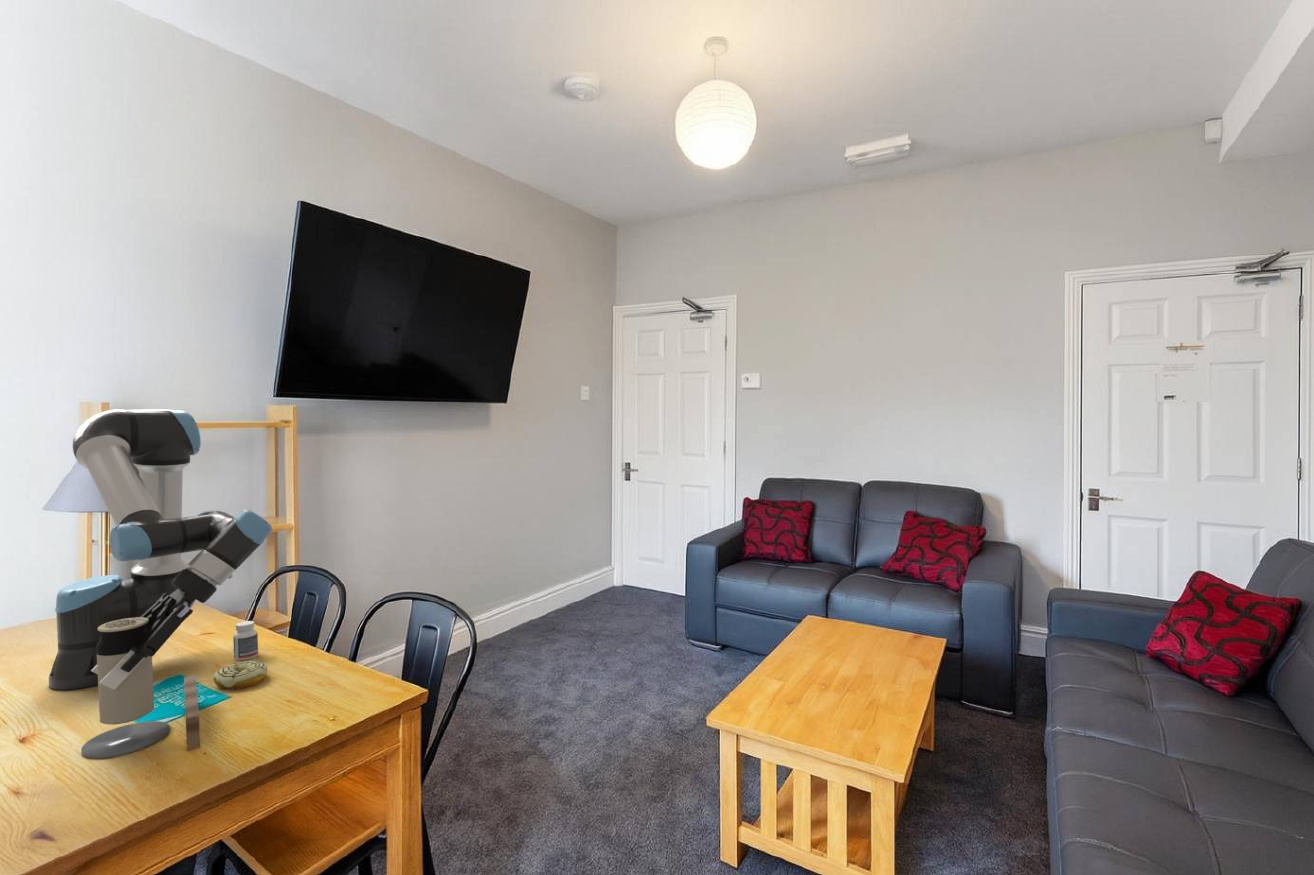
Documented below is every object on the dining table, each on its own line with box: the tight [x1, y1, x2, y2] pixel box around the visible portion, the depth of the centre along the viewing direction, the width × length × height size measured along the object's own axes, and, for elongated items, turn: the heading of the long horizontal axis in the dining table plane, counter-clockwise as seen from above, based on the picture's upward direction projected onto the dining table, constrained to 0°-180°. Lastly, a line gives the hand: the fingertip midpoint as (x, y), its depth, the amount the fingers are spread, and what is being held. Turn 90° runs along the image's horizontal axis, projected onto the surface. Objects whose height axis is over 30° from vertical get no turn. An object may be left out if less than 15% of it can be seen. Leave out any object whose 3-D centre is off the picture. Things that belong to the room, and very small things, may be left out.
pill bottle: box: [232, 620, 259, 661], centre depth 163 cm, size 5×5×9 cm
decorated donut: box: [212, 660, 268, 690], centre depth 147 cm, size 10×11×4 cm
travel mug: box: [96, 617, 155, 726], centre depth 120 cm, size 8×8×18 cm
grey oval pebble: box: [80, 720, 171, 760], centre depth 120 cm, size 13×13×1 cm
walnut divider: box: [183, 674, 201, 751], centre depth 126 cm, size 24×2×6 cm, turn 38°
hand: (102, 679), depth 117 cm, fingers closed on travel mug, 8 cm apart
